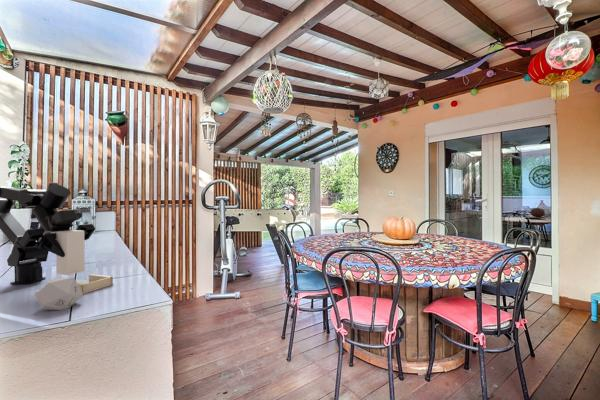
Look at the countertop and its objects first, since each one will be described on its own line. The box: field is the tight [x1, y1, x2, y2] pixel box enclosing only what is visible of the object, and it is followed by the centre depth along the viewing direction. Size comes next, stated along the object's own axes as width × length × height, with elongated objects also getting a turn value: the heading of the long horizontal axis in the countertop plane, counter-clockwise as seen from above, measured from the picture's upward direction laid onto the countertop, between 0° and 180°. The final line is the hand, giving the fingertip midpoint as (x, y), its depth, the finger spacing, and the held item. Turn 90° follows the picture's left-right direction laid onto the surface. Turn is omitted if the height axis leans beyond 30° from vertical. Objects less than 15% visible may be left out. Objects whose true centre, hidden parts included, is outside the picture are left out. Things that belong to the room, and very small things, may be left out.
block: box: [56, 229, 86, 276], centre depth 90 cm, size 5×5×13 cm
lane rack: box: [75, 273, 115, 295], centre depth 89 cm, size 16×10×3 cm, turn 70°
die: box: [34, 276, 84, 311], centre depth 72 cm, size 8×9×10 cm
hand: (73, 254), depth 90 cm, fingers closed on block, 5 cm apart
